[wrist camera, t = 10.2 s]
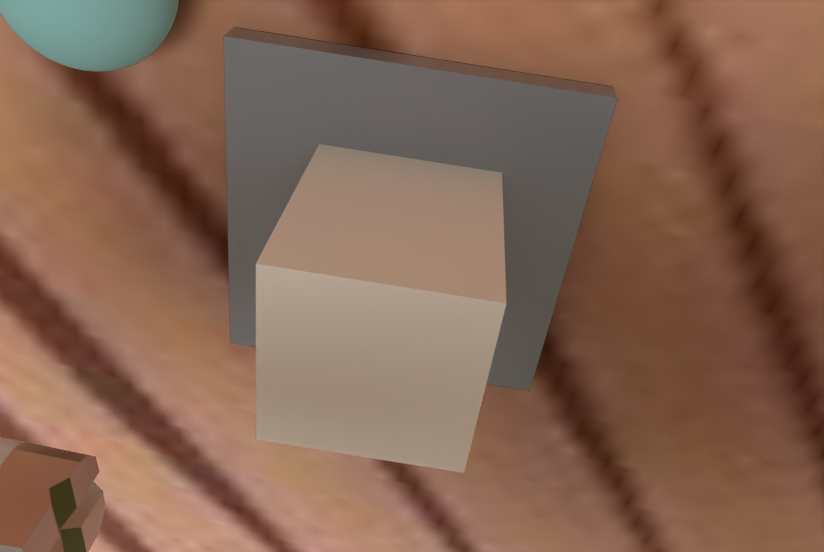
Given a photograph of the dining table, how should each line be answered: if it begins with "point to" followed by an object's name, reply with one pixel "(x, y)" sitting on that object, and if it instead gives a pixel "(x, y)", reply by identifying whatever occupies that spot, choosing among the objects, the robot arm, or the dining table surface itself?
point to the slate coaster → (413, 157)
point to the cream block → (380, 308)
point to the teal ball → (91, 29)
